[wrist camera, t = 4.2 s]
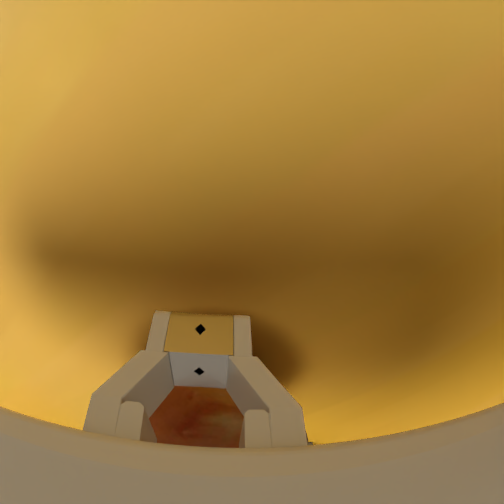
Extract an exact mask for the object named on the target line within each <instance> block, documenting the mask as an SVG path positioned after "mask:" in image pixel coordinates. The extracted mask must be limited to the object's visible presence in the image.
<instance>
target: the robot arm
mask: <svg viewBox="0 0 504 504" xmlns="http://www.w3.org/2000/svg"><path fill="white" fill-rule="evenodd" d="M174 386H192V387H209V388H224V389H226V390H227V392H228V393H229V395H230V396H231V398H232V399H233V401H234V402H235V404H236V405H237V407H238V408H239V410H240V411H241V413H242V414H243V416H244V419H243V424H242V430H241V435H240V441H239V448H220V447H199V446H185V445H173V444H163V443H157V438H156V435H155V433H154V430H153V428H152V426H151V423H150V420H149V418H150V416H151V415H152V414H153V413H154V411H155V410H156V409H157V408H158V407H159V405H160V404H161V403H162V402H163V400H164V399H165V398H166V397H167V395H168V394H169V393H170V392H171V391H172V389H173V388H174ZM0 504H504V403H501V404H499V405H496V406H493V407H490V408H487V409H484V410H482V411H479V412H476V413H472V414H469V415H466V416H463V417H460V418H456V419H453V420H449V421H446V422H442V423H438V424H434V425H431V426H427V427H422V428H418V429H414V430H409V431H405V432H400V433H395V434H390V435H385V436H379V437H373V438H367V439H361V440H354V441H346V442H338V443H329V444H319V445H307V438H306V431H305V424H304V418H303V411H302V407H301V406H300V405H299V404H298V403H297V402H296V400H295V399H294V398H293V397H292V396H291V395H290V394H289V393H288V391H287V390H286V389H285V388H284V387H283V386H282V385H281V384H280V382H279V381H278V380H277V379H276V378H275V377H274V376H273V374H272V373H271V372H270V371H269V370H268V369H267V367H266V366H265V365H264V364H263V363H262V362H261V360H260V359H259V358H258V357H254V356H252V339H251V321H250V316H248V315H234V316H233V315H218V314H194V313H182V312H168V311H158V310H156V311H155V313H154V315H153V319H152V323H151V328H150V332H149V336H148V341H147V345H146V350H140V351H139V352H138V353H137V354H136V355H135V356H134V357H133V358H131V359H130V360H129V361H128V362H127V363H126V364H125V365H124V366H123V367H121V368H120V369H119V370H118V371H117V372H116V373H115V374H114V375H113V376H111V377H110V378H109V379H108V380H107V381H106V382H105V383H104V384H103V385H101V386H100V387H99V388H98V389H97V390H96V391H95V392H94V393H93V394H92V396H91V400H90V404H89V408H88V411H87V415H86V419H85V423H84V427H83V430H79V429H75V428H70V427H66V426H62V425H58V424H55V423H51V422H47V421H44V420H40V419H37V418H34V417H30V416H27V415H24V414H21V413H18V412H15V411H12V410H9V409H6V408H3V407H0Z"/></svg>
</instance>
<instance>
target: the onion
mask: <svg viewBox="0 0 504 504" xmlns="http://www.w3.org/2000/svg"><path fill="white" fill-rule="evenodd" d="M243 419H244V416H243V414H242V413H241V411H240V410H239V408H238V407H237V405H236V404H235V402H234V401H233V399H232V398H231V396H230V395H229V393H228V392H227V390H226V389H224V388H209V387H192V386H174V388H173V389H172V391H171V392H170V393H169V394H168V395H167V397H166V398H165V399H164V400H163V402H162V403H161V404H160V405H159V407H158V408H157V409H156V410H155V411H154V413H153V414H152V415H151V416H150V418H149V420H150V423H151V426H152V428H153V430H154V433H155V435H156V438H157V443H163V444H173V445H185V446H199V447H220V448H239V441H240V435H241V430H242V424H243ZM306 438H307V433H306ZM307 445H308V438H307Z"/></svg>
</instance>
